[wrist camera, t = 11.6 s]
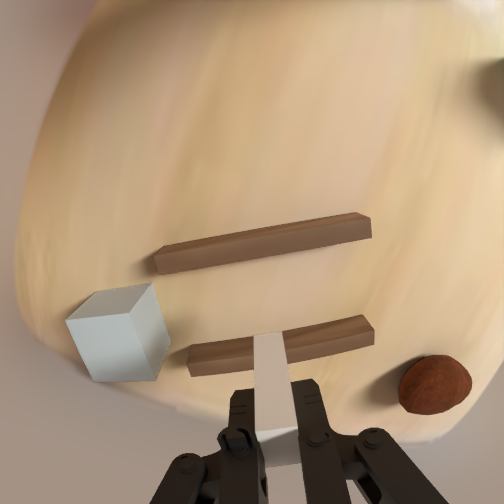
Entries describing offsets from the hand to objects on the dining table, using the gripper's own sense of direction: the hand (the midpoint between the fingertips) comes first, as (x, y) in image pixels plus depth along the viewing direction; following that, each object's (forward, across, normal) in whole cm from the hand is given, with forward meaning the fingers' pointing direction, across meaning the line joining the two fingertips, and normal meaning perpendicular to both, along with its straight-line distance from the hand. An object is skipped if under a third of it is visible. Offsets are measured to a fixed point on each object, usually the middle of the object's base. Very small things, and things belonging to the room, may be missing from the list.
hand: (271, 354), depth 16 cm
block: (+10, -12, -1) cm, 16 cm away
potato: (+10, +16, -15) cm, 24 cm away
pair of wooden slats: (+10, 0, -1) cm, 10 cm away
